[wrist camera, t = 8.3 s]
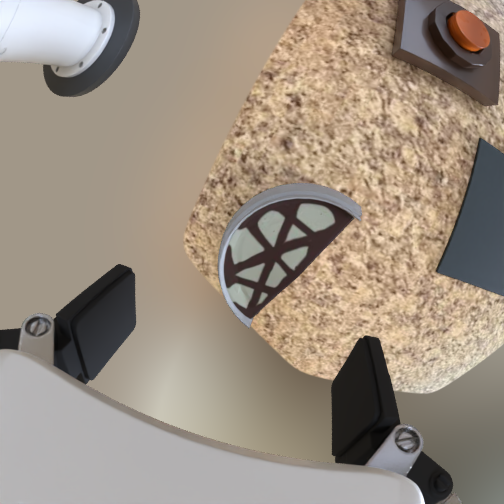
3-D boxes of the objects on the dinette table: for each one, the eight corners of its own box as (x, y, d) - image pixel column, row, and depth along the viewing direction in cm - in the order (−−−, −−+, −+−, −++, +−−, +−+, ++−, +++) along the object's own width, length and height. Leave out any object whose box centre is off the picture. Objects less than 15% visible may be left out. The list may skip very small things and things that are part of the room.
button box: (391, 56, 19) (406, 42, 15) (399, -11, 15) (411, -29, 10) (484, 106, 18) (507, 104, 14) (487, 38, 14) (507, 30, 10)
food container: (295, 144, 24) (291, 144, 15) (344, 188, 25) (367, 214, 16) (218, 237, 29) (180, 282, 20) (263, 273, 30) (244, 332, 21)
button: (446, 38, 13) (455, 32, 12) (446, 9, 12) (455, 2, 10) (479, 59, 13) (490, 55, 11) (479, 29, 11) (489, 24, 10)
